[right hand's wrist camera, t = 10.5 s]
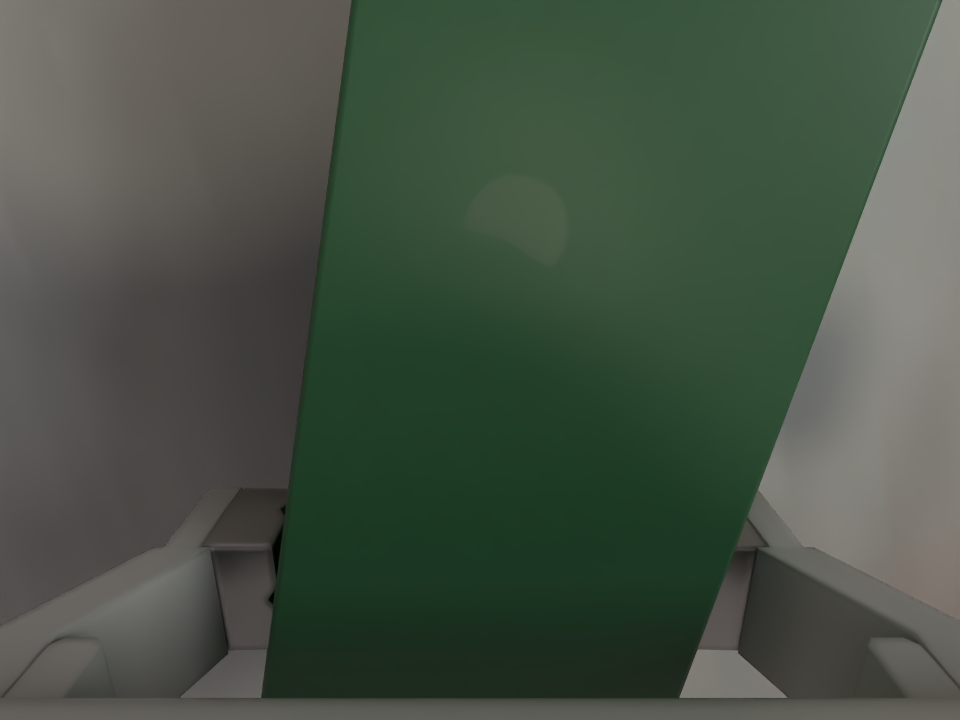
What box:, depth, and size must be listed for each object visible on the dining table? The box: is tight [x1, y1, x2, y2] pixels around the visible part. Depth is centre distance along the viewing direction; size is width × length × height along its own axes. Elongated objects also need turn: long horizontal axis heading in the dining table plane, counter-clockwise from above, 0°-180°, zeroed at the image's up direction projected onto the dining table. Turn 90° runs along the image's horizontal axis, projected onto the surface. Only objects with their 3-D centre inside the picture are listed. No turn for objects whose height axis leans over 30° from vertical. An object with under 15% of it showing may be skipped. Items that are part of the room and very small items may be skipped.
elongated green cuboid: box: [261, 0, 942, 698], centre depth 10 cm, size 17×5×8 cm, turn 168°
